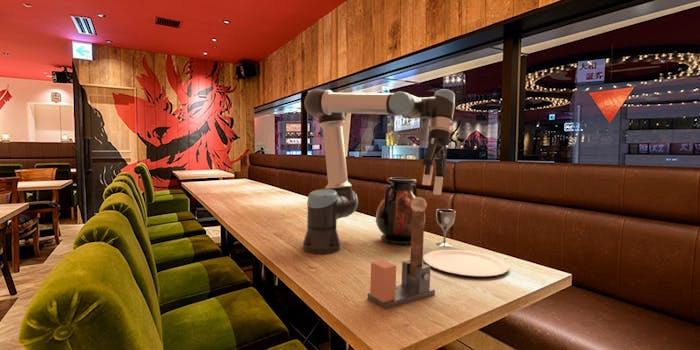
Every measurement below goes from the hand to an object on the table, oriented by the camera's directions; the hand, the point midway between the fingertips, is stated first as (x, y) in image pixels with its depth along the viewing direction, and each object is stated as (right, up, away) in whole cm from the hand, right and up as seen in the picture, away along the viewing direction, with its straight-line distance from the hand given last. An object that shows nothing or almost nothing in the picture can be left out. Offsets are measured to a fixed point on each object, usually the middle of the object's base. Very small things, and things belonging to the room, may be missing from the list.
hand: (431, 189), depth 123 cm
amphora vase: (-6, -25, +35) cm, 43 cm away
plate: (+13, -28, +6) cm, 31 cm away
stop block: (-19, -27, -28) cm, 44 cm away
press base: (-14, -29, -24) cm, 40 cm away
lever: (-9, -23, -21) cm, 32 cm away
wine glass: (+13, -25, +32) cm, 42 cm away
